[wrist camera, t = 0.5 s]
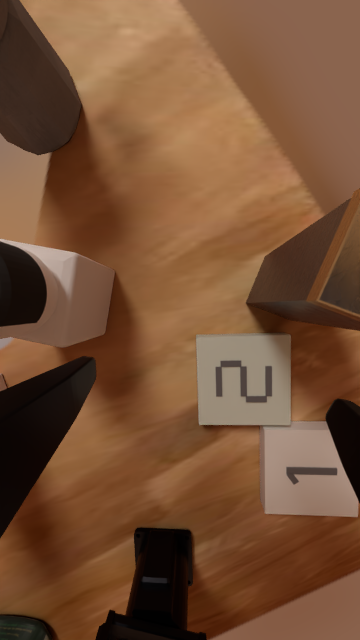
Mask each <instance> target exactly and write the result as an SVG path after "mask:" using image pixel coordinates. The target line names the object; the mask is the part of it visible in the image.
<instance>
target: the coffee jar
mask: <svg viewBox="0 0 360 640" xmlns="http://www.w3.org/2000/svg"><path fill="white" fill-rule="evenodd" d="M0 640H52V637H51V635H50V634H49V632H48V630H47V628H46V627H45V625H44V624H43V623H42V622H40V621H38V620H34V619H30V618H25V617H16V616H4V615H3V616H1V615H0Z"/></svg>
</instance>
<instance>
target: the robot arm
mask: <svg viewBox="0 0 360 640" xmlns="http://www.w3.org/2000/svg"><path fill="white" fill-rule="evenodd" d="M95 379H96V363H95V359H94V358H93V357H87V356H83V357H80V358H78V359H75V360H73V361H71V362H68V363H66V364H64V365H61V366H59V367H57V368H54V369H52V370H49V371H47V372H45V373H42V374H40V375H38V376H35V377H33V378H31V379H28V380H26V381H24V382H21V383H19V384H17V385H14V386H12V387H9V388H7V389H5V390H2V391H0V538H1V536H2V535H3V533H4V532H5V530H6V529H7V527H8V525H9V524H10V522H11V521H12V519H13V517H14V516H15V514H16V513H17V511H18V510H19V508H20V506H21V505H22V503H23V502H24V500H25V498H26V497H27V495H28V494H29V492H30V491H31V489H32V487H33V486H34V484H35V483H36V481H37V479H38V478H39V476H40V475H41V473H42V472H43V470H44V468H45V467H46V465H47V464H48V462H49V460H50V459H51V457H52V456H53V454H54V453H55V451H56V449H57V448H58V446H59V445H60V443H61V441H62V440H63V438H64V437H65V435H66V434H67V432H68V430H69V429H70V427H71V426H72V424H73V422H74V421H75V419H76V417H77V415H78V414H79V412H80V410H81V408H82V406H83V404H84V402H85V400H86V398H87V396H88V394H89V392H90V390H91V388H92V386H93V384H94V382H95ZM326 423H327V425H328V428H329V431H330V433H331V436H332V439H333V442H334V444H335V447H336V450H337V453H338V455H339V458H340V461H341V463H342V466H343V468H344V470H345V473H346V475H347V477H348V479H349V481H350V484H351V486H352V488H353V490H354V492H355V494H356V496H357V499H358V501H359V503H360V407H359V406H358V405H356V404H355V403H353V402H351V401H349V400H344V399H336V400H334V402H333V403H332V405H331V407H330V408H329V410H328V412H327V413H326ZM134 544H135V561H136V569H135V574H134V578H133V583H132V587H131V592H130V596H129V601H128V606H127V610H126V615H122V614H118V613H115V611H113V610H109V613H108V616H107V620H106V622H105V623H103V624H102V625H101V626H99V629H98V633H97V636H96V639H95V640H206V633H203V632H199V633H195V632H191V631H187V607H188V586H191V585H192V584H193V571H192V543H191V532H190V531H189V530H181V529H157V528H137V529H136V530H135V533H134Z"/></svg>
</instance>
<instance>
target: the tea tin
mask: <svg viewBox="0 0 360 640" xmlns="http://www.w3.org/2000/svg"><path fill="white" fill-rule="evenodd" d="M246 303H247V304H250V305H252V306H255V307H258V308H260V309H263V310H266V311H268V312H271V313H273V314H276V315H279V316H281V317H284V318H287V319H289V320H292V321H299V322H305V323H312V324H318V325H325V326H331V327H338V328H344V329H351V330H358V331H360V188H359V189H358V190H356V191H355V192H354V193H353V195H352V198H350V199H349V200H347V201H346V202H344V203H343V204H341V205H340V206H338V207H337V208H336V209H334V210H332V211H331V212H330V213H328V214H327V215H325V216H324V217H322V218H321V219H319V220H318V221H316V222H315V223H313V224H312V225H310V226H309V227H308V228H306V229H305V230H303V231H302V232H300V233H299V234H297V235H296V236H294V237H293V238H291V239H290V240H288V241H287V242H286V243H284V244H283V245H281V246H280V247H278V248H277V249H275V250H274V251H272V252H271V253H269V254H268V255H266V256H265V258H264V260H263V263H262V265H261V267H260V270H259V272H258V275H257V277H256V279H255V282H254V284H253V287H252V289H251V292H250V294H249V296H248V299H247V301H246Z"/></svg>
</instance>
